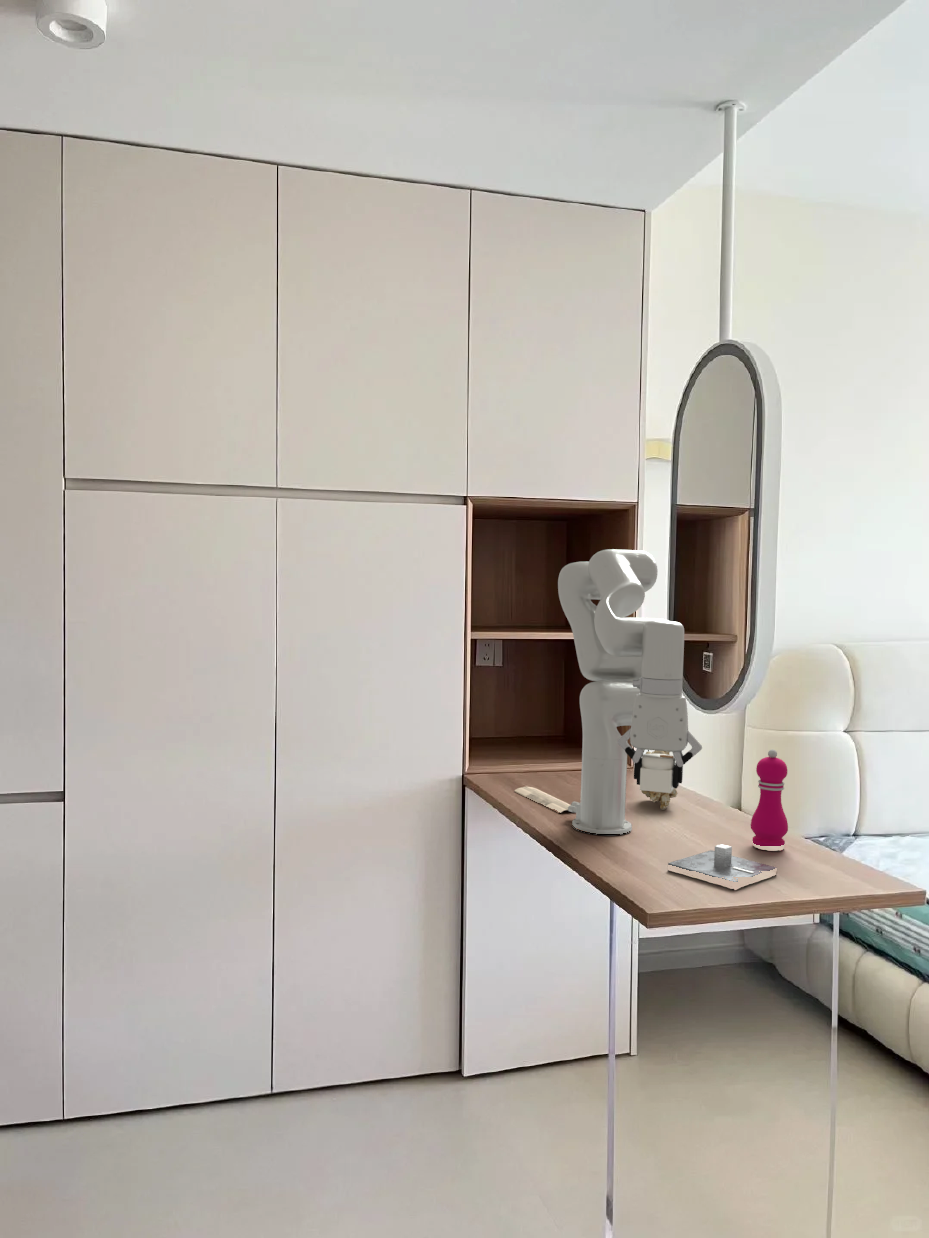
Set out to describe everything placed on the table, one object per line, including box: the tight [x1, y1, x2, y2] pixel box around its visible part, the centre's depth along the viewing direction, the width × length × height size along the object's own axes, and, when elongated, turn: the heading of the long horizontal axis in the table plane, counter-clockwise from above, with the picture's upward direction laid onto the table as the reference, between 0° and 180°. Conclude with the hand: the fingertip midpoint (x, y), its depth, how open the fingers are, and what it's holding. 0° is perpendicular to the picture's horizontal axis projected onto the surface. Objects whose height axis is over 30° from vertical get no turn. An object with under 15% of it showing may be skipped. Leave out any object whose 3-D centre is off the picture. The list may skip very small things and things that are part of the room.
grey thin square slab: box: [667, 843, 778, 882], centre depth 179 cm, size 14×14×5 cm
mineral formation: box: [640, 750, 678, 811], centre depth 231 cm, size 8×13×15 cm, turn 6°
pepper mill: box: [750, 749, 789, 846], centre depth 197 cm, size 7×7×20 cm
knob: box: [639, 753, 676, 793], centre depth 180 cm, size 6×6×6 cm
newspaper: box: [513, 786, 571, 814], centre depth 232 cm, size 24×7×2 cm, turn 23°
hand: (657, 784), depth 180 cm, fingers closed on knob, 6 cm apart
